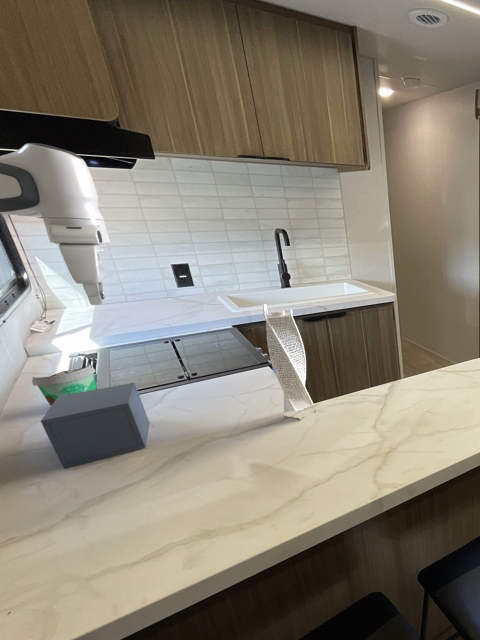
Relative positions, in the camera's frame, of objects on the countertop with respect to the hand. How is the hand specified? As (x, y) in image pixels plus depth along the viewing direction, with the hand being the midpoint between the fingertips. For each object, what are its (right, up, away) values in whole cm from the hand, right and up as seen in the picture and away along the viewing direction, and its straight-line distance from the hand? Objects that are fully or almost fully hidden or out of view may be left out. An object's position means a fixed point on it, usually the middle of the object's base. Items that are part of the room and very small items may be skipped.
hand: (98, 301), depth 87 cm
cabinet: (0, -31, +3) cm, 31 cm away
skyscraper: (+36, -26, +15) cm, 47 cm away
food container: (-27, -24, +23) cm, 43 cm away
